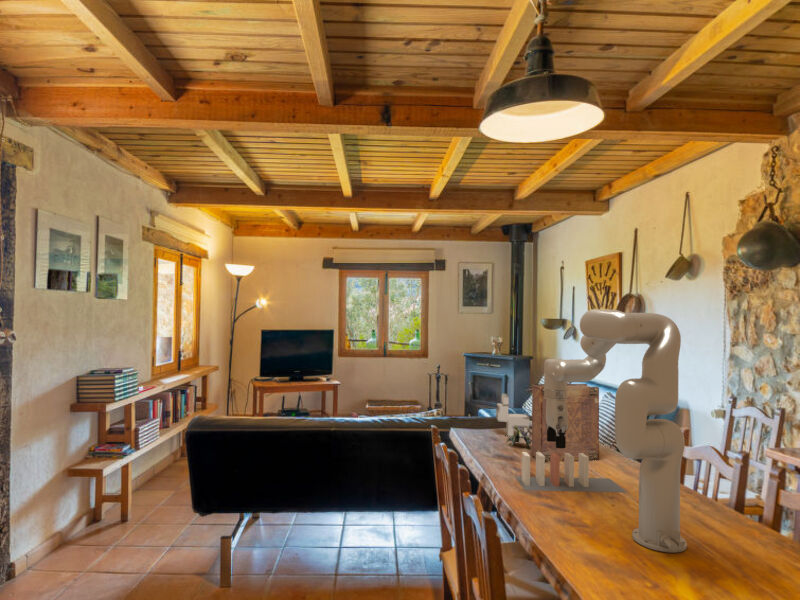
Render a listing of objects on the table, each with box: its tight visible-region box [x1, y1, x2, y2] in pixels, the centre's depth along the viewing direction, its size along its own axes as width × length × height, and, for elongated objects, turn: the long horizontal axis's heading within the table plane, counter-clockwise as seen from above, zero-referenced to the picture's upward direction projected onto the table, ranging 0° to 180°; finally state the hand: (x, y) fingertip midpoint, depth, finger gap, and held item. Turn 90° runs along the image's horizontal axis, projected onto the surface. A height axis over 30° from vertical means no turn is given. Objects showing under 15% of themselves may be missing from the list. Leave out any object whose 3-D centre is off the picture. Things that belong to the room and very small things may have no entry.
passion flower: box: [504, 425, 532, 449], centre depth 221 cm, size 11×11×12 cm
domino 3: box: [549, 453, 561, 486], centre depth 171 cm, size 5×2×10 cm, turn 0°
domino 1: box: [521, 451, 531, 486], centre depth 171 cm, size 5×2×10 cm, turn 0°
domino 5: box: [578, 453, 590, 487], centre depth 171 cm, size 5×2×10 cm, turn 0°
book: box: [531, 383, 600, 463], centre depth 205 cm, size 25×9×30 cm, turn 101°
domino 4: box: [563, 453, 575, 487], centre depth 171 cm, size 5×2×10 cm, turn 0°
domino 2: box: [535, 452, 546, 486], centre depth 171 cm, size 5×2×10 cm, turn 0°
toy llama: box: [495, 392, 532, 437], centre depth 242 cm, size 8×18×20 cm, turn 85°
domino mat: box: [515, 476, 627, 493], centre depth 171 cm, size 14×34×1 cm, turn 90°
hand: (555, 444), depth 170 cm, fingers open, 9 cm apart
